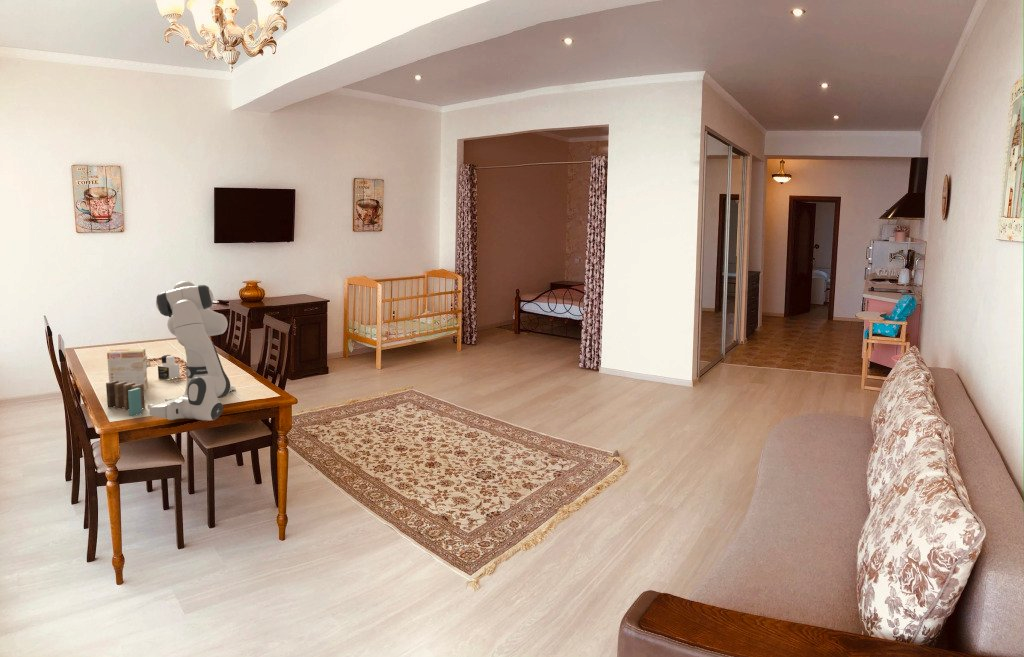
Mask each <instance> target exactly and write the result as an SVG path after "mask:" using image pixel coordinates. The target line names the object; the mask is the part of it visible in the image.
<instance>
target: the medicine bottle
mask: <svg viewBox="0 0 1024 657" xmlns="http://www.w3.org/2000/svg"><path fill="white" fill-rule="evenodd" d="M157 376H158V379H159V378H161V379H160V380H163V379H172V378H175V377H179V376H180V377H181V375H180V364H179V363H176V358H175V355H173V354H166V355H163V356H161V364H158V365H157ZM180 377H179V378H180ZM172 380H173V379H172Z"/></svg>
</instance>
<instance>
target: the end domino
mask: <svg viewBox="0 0 1024 657" xmlns="http://www.w3.org/2000/svg"><path fill="white" fill-rule="evenodd" d="M116 383H119V381H112V382H109V381H108V382H106V383H105V388H106V402H107V408H108V407H112V408H115V407H116V401H115V387H114V384H116ZM114 406H115V407H114Z"/></svg>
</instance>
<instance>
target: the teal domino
mask: <svg viewBox="0 0 1024 657" xmlns="http://www.w3.org/2000/svg"><path fill="white" fill-rule="evenodd" d="M128 399H129V410H128V411H129V412H128V413H129V417H135V416H137V415H136V414H138V415H140V413H141V414H142V413H143V409H142V403H141V388H135V389H132V390H128ZM134 415H135V416H134Z"/></svg>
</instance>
